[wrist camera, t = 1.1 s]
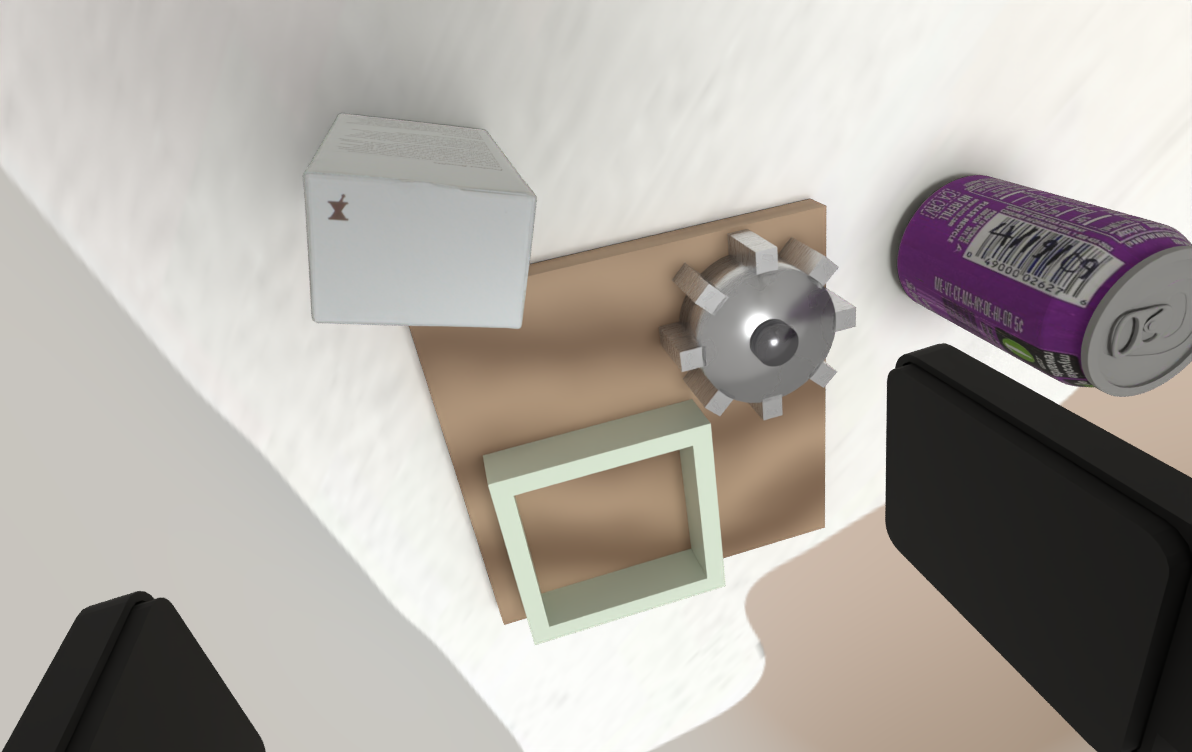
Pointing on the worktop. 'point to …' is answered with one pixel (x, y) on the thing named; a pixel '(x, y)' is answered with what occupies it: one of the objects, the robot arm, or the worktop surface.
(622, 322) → the carrier plate
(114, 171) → the worktop surface
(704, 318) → the sun gear
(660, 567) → the green square frame
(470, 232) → the skincare box
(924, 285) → the beverage can
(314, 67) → the worktop surface
